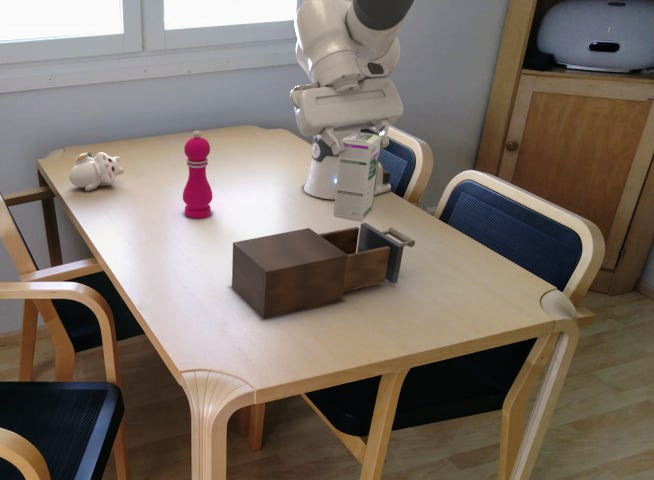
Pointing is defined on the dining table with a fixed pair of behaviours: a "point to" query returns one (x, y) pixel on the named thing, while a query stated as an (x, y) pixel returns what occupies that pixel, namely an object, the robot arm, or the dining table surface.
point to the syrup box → (357, 176)
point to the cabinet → (288, 272)
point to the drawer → (369, 254)
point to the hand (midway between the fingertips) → (362, 149)
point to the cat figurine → (94, 171)
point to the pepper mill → (197, 178)
